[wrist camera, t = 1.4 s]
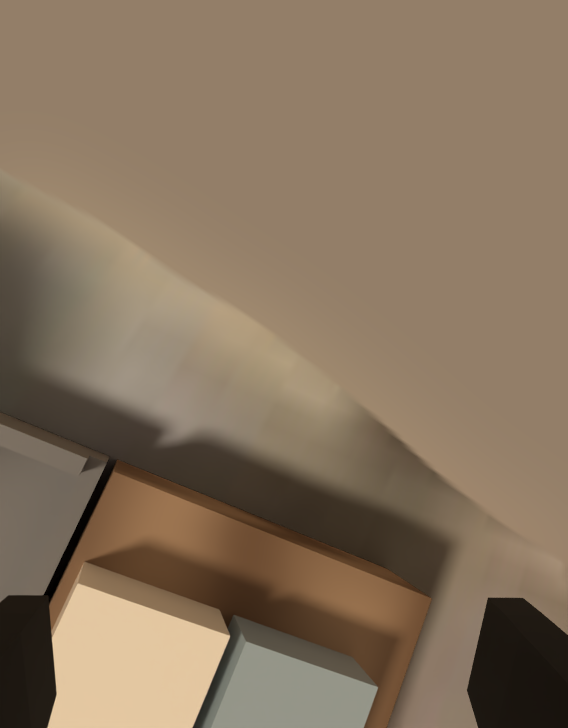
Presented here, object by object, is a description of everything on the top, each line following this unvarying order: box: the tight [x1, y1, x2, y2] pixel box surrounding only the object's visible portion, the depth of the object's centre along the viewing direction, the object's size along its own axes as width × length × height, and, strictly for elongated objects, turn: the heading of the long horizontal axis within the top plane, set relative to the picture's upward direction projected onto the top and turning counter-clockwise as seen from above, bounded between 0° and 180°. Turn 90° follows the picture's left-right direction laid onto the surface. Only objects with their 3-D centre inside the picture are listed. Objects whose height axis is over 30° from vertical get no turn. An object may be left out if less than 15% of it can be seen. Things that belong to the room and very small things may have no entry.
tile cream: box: [47, 562, 230, 728], centre depth 15 cm, size 4×4×2 cm
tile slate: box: [193, 615, 378, 728], centre depth 16 cm, size 4×4×2 cm
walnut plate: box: [49, 460, 432, 728], centre depth 19 cm, size 12×10×4 cm
